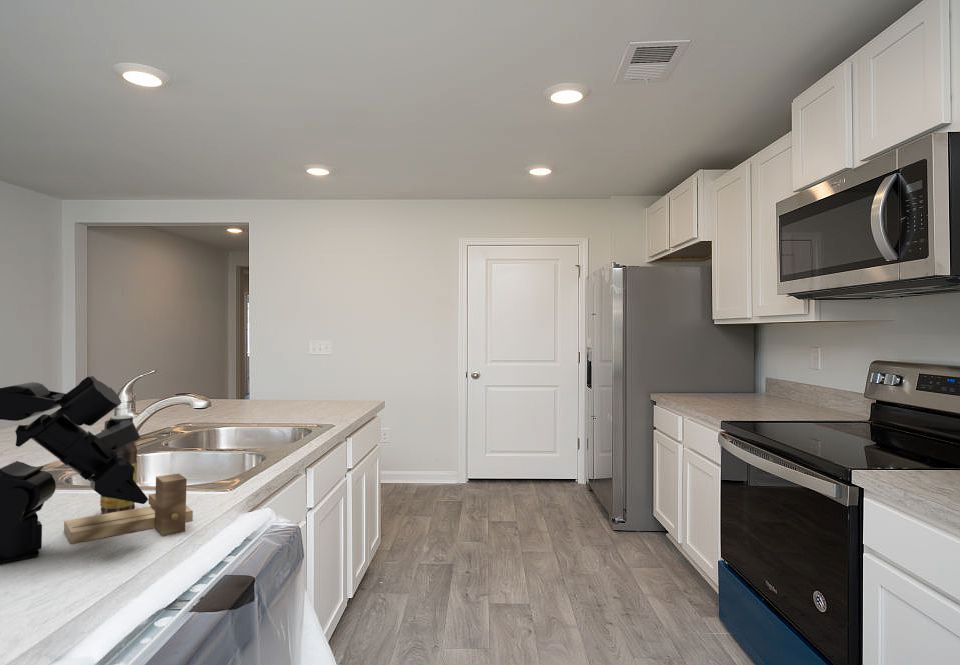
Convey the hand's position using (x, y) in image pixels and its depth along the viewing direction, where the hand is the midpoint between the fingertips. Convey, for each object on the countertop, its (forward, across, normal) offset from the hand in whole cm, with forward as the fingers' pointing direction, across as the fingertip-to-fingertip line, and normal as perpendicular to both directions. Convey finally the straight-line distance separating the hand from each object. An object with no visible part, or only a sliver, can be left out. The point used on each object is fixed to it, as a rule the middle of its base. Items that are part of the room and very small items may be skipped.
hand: (139, 495), depth 105 cm
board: (+6, +7, +5) cm, 10 cm away
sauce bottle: (+6, +17, +5) cm, 19 cm away
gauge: (+9, +4, +1) cm, 10 cm away
